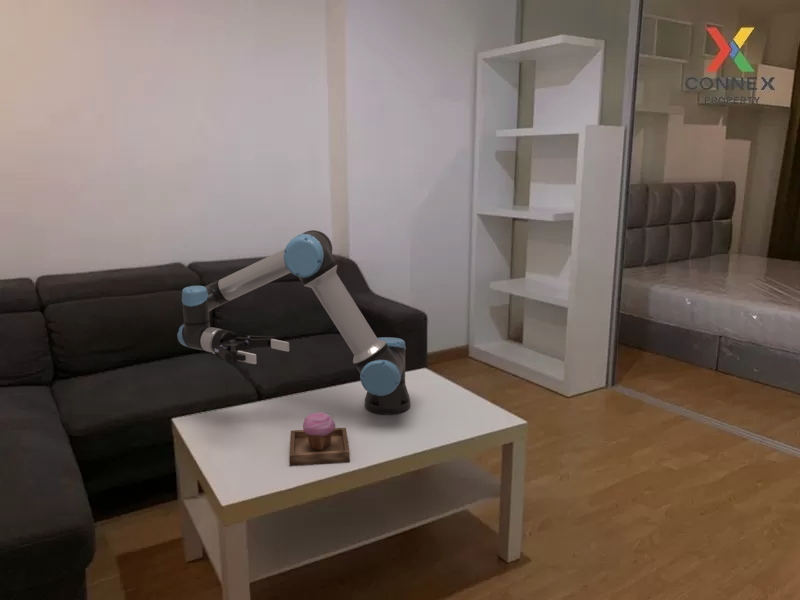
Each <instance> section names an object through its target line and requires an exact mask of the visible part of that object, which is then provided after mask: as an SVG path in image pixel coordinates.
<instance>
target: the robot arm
mask: <svg viewBox="0 0 800 600" xmlns="http://www.w3.org/2000/svg"><path fill="white" fill-rule="evenodd" d="M332 254H333V243H332V242H331V240H330V238H329V236H328V235H327V234H325V233H323V232H322V231H319V230H314V229H313V230H307V231H304V232H302V233H301V234H298V235H296V236H294V237H293V238H291V239H290V241H289V242H288V243H287V244H286V246H285V248H284V249H282V250H279V251H277V252H275V253H273V254H271V255H269V256H267V257H264V258H262V259H260V260H258V261H256V262H255V263H252V264H250V265H248V266H246V267H244V268H242V269H240V270H237V271H235V272H233V273H231V274H229V275H227V276H225V277H223V278H221V279H219V280H216V281H214V282H211V283H210V284H207V285H205V286H204V285H190V286H186V287H184V288H183V289H182V291H181V304H182V313H183V324H182V325H180V327H179V328H178V332H177V340H178V342H179V343H180V344H181V345H182V346H184V347H187V348H189V349H193V350H199V351H204V352H207V353H212V354H213V355H216V356H219V357H220V358H222V359H223V360H224V361H225V362H226V363H230V362H231V361H232V364H237V363H238V361H239V362H242V363H247V364H250V365H251V364H252V365H256V364H257V354H256V353H251V352H247V350H251V349H252V348H253V349H254V348H271V349H273V350H278V351H283V352H287V353H288V352H290V342H289V341H284V340H280V339H278V338H277V337H278V336H275V335H271V336H268V335H249V334H247V335H245V337H242V336H237V335H236V333H235V332H233V331H230V330H227V329H222V328H217V327H212V326H211V325H210V312H211V311H212V310H214V309H216V308H218V307H220V306H222V305H224V304H226V303H229V302H230V301H232V300H234V299H237V298H239V297H240V296H243V295H245V294H247V293H250V292H252V291H255V290H257V289H259V288H260V287H263V286H264V285H267V284H269V283H271V282H273V281H275V280H277V279H280V278H282V277H284V276H286V275H288V274H292V275H293V276H296V277H298V278H299V280H300V281H301V283H302V285H303V286H304V287H305V288H306V287H307V288H311V289H312V291H313V293H314V294H315V296H316V297H317V299H318V300H319V301H320V303H321V305H322V307H323V308H324V310H325V311H326V313H327V315H328V316H329V318H330V319H331V321H332V323H333V324H334V326H335V327H336V329H337V330H338V331H339V333H340V335H341V336H342V338H343V339H344V341H345V343H346V344H347V346H348V347H349V349H350V351H351V353H352V354H353V358H352V359H353V360H352V363H353V365H354V366H355V368H356V369H357V371H358V373H359V374H360V375H359V379H360V383H361V385H362V387H363V389H364V390H365V391H366V393H365V397H364V408H365V409H366V410H367V411H368V412H371V413H374V414H379V415H395V414H396V415H397V414H401V413H403V412H406V411H408V410H409V409H410V408H411V396H410V394H409V391H408V389H407V385H406V350H407V347H406V341H405V340H404V339H402V338H399V337H387V336H385V337H377V335H376V334H375V332H374V331H373V329H372V328H371V326H370V324H369V323H368V321H367V320H366V318H365V317H364V314H363V313H362V312H361V310H360V309H359V307H358V305H357V304H356V302H355V301H354V298H353V297H352V296H351V294H350V292H349V291H348V290H347V289H348V288H347V287H346V286H345V285H344V283H343V282H342V280H341V278H340V277H339V275H338V273H337V270H338V269H337V268H338V264H337V263H336V261H335V259H334V258H333V255H332Z"/></svg>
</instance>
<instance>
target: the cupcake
mask: <svg viewBox="0 0 800 600" xmlns="http://www.w3.org/2000/svg"><path fill="white" fill-rule="evenodd" d="M302 426H303V429H302V430H303V431H304V432H305V433H306V435H307V438H308V441H309V444H310V447H311V448H313V449H316V450H324V449H325V448H326V447H328V446H329V445H330V443H331V435H332V432H333V431H334V429H335V428H336V422H335V420H334V419H333V418H332V417H331V416H330V415H329V414H327V413H326V412H321V411H320V412H319V411H318V412H314V413H309V414H308V415H307V416H305V418H304V420H303V425H302Z"/></svg>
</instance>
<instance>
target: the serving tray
mask: <svg viewBox="0 0 800 600" xmlns="http://www.w3.org/2000/svg"><path fill="white" fill-rule="evenodd" d="M289 438H290V439H289V441H290V442H289V455H288V457H289V467H296V466H297V467H298V465H299V466H315V465H326V464H327V465H328V464H330V465H331V464H345V463H346V464H347V463H350V461H351V458H350V455H351V454H350V446H349V440H348V438H349V437H348V433H347V427H335V429H334V431H333V432H332V435H331V443H330V445H329V446H328V447H326V448H325V449H324V450H316V449H313V448H311V447H310V444H309V441H308V438H307V435H306V433H305V432H304V431H303V429H300V430H299V429H298V430H297V429H296V430H290V436H289ZM314 464H315V465H314Z"/></svg>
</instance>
